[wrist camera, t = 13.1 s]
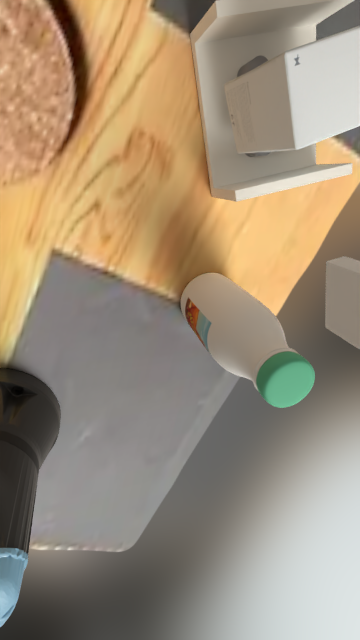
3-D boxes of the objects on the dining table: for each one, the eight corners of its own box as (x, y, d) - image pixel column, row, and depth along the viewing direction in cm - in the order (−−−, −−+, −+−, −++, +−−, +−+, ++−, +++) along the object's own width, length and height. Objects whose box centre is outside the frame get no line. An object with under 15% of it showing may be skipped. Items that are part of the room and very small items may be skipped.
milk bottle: (186, 267, 41) (263, 338, 23) (241, 275, 43) (348, 345, 26) (173, 323, 44) (234, 425, 26) (226, 328, 46) (314, 424, 29)
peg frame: (211, 196, 38) (236, 201, 32) (189, 34, 32) (215, 0, 26) (310, 173, 40) (351, 173, 34) (309, 16, 34) (360, -20, 28)
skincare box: (237, 158, 34) (296, 152, 24) (222, 84, 31) (282, 46, 21) (327, 124, 35) (417, 106, 25) (320, 49, 32) (419, -2, 22)
